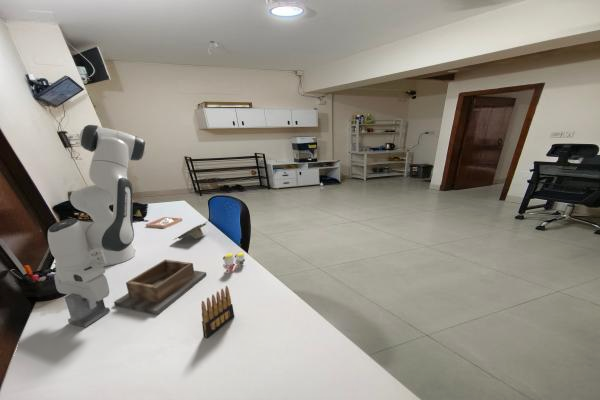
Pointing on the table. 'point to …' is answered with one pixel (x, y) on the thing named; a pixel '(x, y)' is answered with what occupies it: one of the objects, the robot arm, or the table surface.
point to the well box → (159, 286)
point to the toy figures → (229, 261)
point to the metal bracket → (84, 310)
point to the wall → (194, 232)
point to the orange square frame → (154, 225)
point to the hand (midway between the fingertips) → (86, 306)
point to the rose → (165, 221)
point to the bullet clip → (216, 313)
